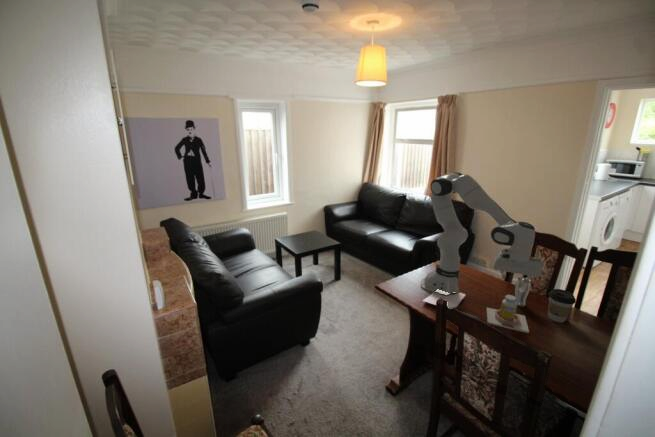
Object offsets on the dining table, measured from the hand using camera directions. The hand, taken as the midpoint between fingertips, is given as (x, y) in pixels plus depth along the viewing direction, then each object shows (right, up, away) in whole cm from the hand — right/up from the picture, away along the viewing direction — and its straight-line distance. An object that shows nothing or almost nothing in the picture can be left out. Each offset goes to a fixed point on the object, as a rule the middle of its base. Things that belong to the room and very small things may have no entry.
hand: (514, 280), depth 149 cm
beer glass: (+16, -18, +21) cm, 32 cm away
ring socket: (0, -22, +6) cm, 23 cm away
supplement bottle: (0, -22, +6) cm, 22 cm away
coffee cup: (+27, -22, +8) cm, 36 cm away
